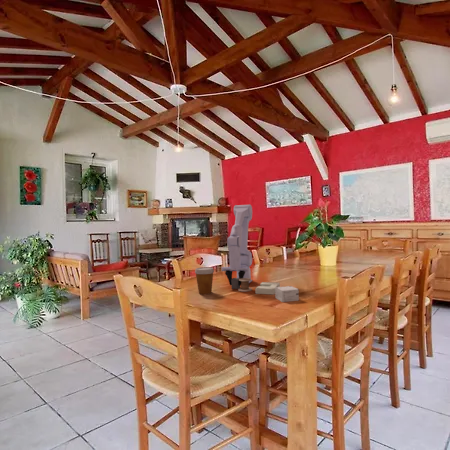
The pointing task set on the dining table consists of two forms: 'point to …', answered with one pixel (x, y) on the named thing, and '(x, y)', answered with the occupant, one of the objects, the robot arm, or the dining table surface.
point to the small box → (287, 294)
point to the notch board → (267, 288)
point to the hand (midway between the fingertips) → (235, 285)
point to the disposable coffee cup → (204, 279)
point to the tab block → (235, 283)
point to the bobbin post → (244, 285)
